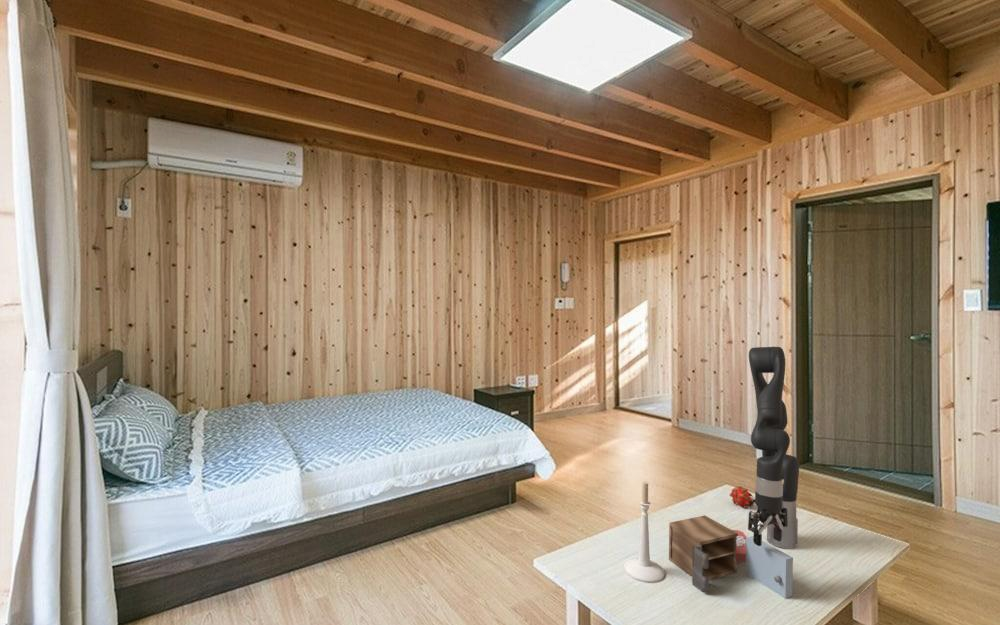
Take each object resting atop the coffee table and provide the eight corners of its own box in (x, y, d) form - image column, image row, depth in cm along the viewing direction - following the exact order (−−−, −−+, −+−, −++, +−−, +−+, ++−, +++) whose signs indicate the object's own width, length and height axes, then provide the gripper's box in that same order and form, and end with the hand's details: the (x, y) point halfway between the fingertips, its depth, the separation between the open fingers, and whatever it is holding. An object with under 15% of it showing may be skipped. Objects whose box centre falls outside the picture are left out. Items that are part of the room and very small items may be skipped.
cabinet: (704, 551, 167) (705, 515, 167) (752, 582, 149) (753, 541, 148) (660, 562, 160) (660, 524, 160) (704, 595, 141) (705, 553, 141)
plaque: (700, 525, 179) (741, 528, 177) (700, 535, 179) (741, 538, 177) (714, 549, 162) (760, 553, 160) (714, 560, 162) (760, 564, 160)
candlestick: (672, 580, 149) (673, 487, 149) (634, 584, 147) (635, 490, 146) (652, 559, 162) (653, 473, 161) (617, 562, 160) (618, 475, 159)
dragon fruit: (733, 502, 212) (752, 518, 201) (721, 493, 210) (739, 508, 199) (744, 487, 212) (764, 502, 201) (732, 478, 210) (751, 492, 199)
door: (752, 571, 154) (752, 536, 154) (792, 596, 141) (792, 557, 141) (742, 574, 153) (743, 538, 153) (782, 599, 140) (783, 560, 140)
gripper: (774, 484, 153) (773, 533, 153) (741, 489, 148) (740, 540, 148) (796, 493, 146) (794, 544, 146) (762, 499, 141) (761, 552, 141)
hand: (767, 542), depth 147 cm, fingers open, 8 cm apart
